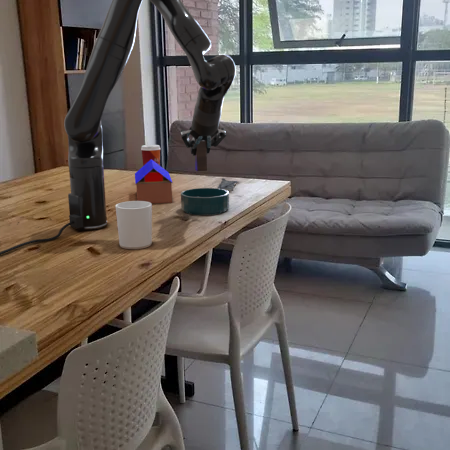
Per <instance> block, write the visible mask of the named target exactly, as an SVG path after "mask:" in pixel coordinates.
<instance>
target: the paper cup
mask: <svg viewBox="0 0 450 450" xmlns="http://www.w3.org/2000/svg"><path fill="white" fill-rule="evenodd" d="M161 149H162V148H161V146H160V145H159V144H144V145H141V148H140V150H141V159H142V167H143V166H144V165H145V164H146V163H147V162H148V161H150V160H151V159H152V160H153V161H154V162H156V163H157V164H158V165H160V166H161V163H160V162H161Z"/></svg>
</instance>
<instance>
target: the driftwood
mask: <svg viewBox="0 0 450 450" xmlns="http://www.w3.org/2000/svg"><path fill="white" fill-rule="evenodd" d="M237 183H239V181H238V180H227V179H225V178H224V177H223V178H221V181H220V183H218V186H217V189H223V190H227V191H234V187H235V186H236V185H235V184H237Z"/></svg>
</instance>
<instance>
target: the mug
mask: <svg viewBox="0 0 450 450" xmlns="http://www.w3.org/2000/svg"><path fill="white" fill-rule="evenodd" d="M115 215H116V225H117V232H118V243H119V247H120V248H122V249H125V250H142V249H146V248H149V247H151V245H152V244H153V240H152V239H153V203H150V202H146V201H137V200H128V201H122V202H119V203H116V204H115Z"/></svg>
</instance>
